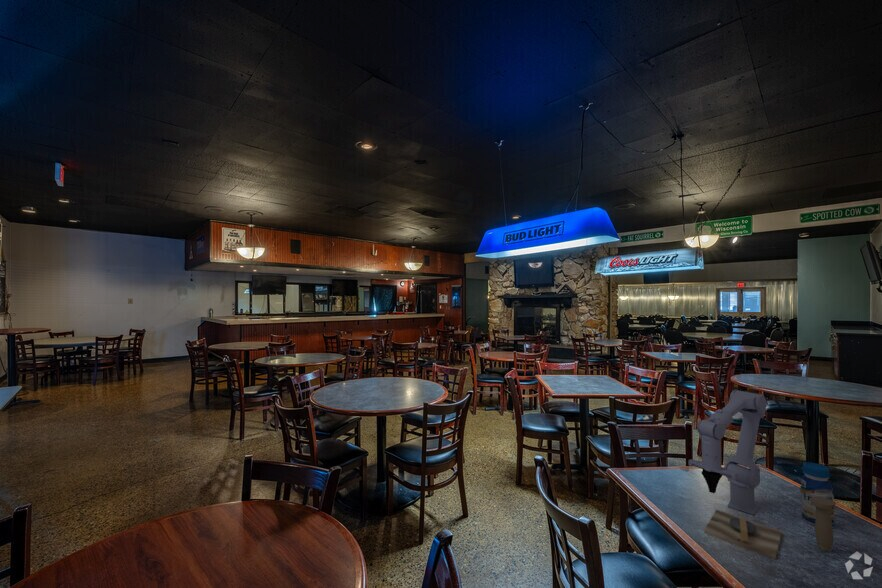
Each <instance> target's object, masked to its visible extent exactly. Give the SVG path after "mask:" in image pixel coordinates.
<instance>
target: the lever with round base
mask: <svg viewBox="0 0 882 588" xmlns="http://www.w3.org/2000/svg"><path fill="white" fill-rule="evenodd" d="M746 520H747V518H744V517H740V519H739V518H731V519H730V525H731V526H732V527H733V528H735V529H737V530H739V531H740V532H741V540H745V541H748V533H756V526H755V525H754V524H752V523H751V522H749V521H750V520H749V521H746Z"/></svg>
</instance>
